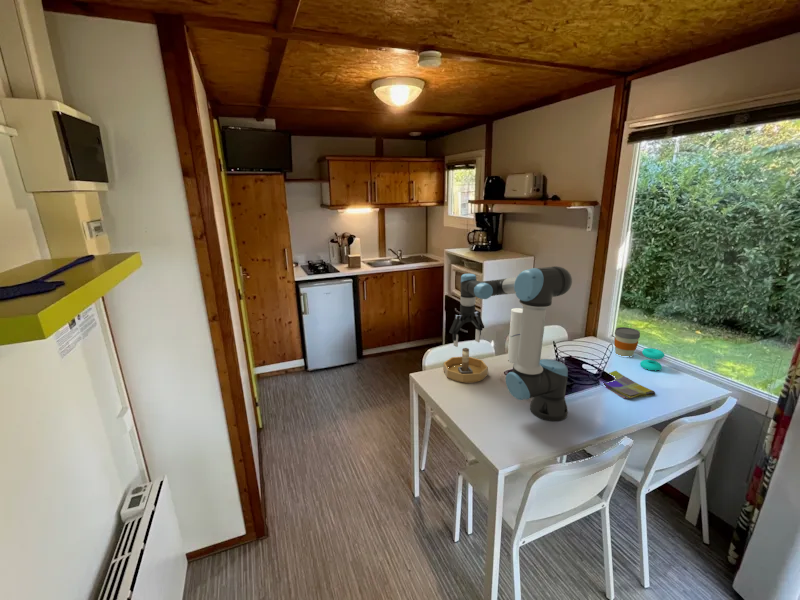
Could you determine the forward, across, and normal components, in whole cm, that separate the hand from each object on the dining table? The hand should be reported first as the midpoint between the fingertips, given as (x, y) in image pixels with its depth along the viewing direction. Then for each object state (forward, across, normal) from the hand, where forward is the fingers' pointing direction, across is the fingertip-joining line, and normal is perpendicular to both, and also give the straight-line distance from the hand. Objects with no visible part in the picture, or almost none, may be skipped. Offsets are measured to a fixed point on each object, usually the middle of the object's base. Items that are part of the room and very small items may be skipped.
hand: (466, 343), depth 195 cm
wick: (+16, 0, -1) cm, 16 cm away
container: (+17, -35, -1) cm, 39 cm away
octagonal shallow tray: (+17, 0, -1) cm, 17 cm away
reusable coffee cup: (+17, -97, +21) cm, 101 cm away
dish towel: (+18, -61, +45) cm, 78 cm away
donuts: (+18, -93, +39) cm, 103 cm away
